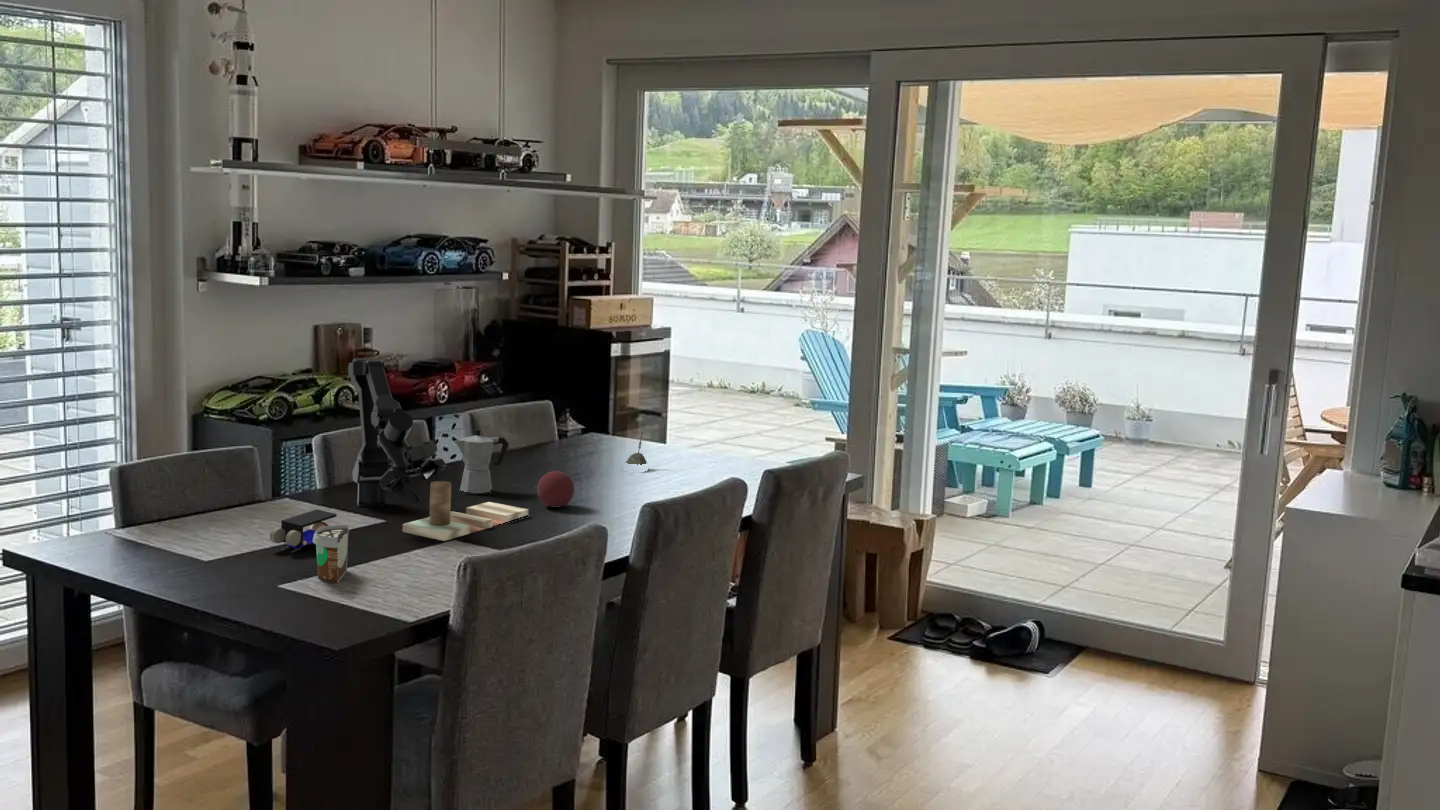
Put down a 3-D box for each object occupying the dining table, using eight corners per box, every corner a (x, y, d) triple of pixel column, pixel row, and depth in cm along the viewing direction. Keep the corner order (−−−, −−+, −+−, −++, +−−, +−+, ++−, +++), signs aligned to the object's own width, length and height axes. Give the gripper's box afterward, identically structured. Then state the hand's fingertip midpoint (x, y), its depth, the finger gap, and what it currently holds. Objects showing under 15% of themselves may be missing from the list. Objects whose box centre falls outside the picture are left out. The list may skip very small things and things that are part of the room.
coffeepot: (456, 496, 354) (457, 432, 351) (449, 488, 362) (451, 426, 360) (510, 494, 360) (513, 431, 357) (502, 487, 368) (505, 426, 366)
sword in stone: (640, 474, 399) (642, 437, 398) (618, 471, 402) (620, 434, 401) (654, 469, 409) (656, 433, 407) (632, 466, 411) (634, 430, 410)
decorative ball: (558, 501, 354) (559, 466, 353) (580, 509, 347) (582, 472, 346) (529, 505, 347) (530, 469, 346) (551, 513, 340) (552, 476, 339)
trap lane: (488, 509, 341) (489, 501, 340) (528, 516, 335) (528, 508, 334) (402, 532, 312) (402, 523, 311) (443, 540, 306) (444, 532, 305)
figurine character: (293, 562, 286) (339, 541, 299) (290, 530, 284) (337, 510, 297) (270, 557, 288) (317, 536, 302) (267, 525, 286) (314, 506, 300)
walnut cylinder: (430, 525, 310) (431, 485, 309) (428, 520, 315) (429, 481, 314) (451, 525, 312) (452, 485, 311) (448, 520, 317) (449, 480, 315)
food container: (319, 568, 277) (320, 523, 276) (348, 569, 278) (349, 524, 276) (305, 584, 265) (306, 537, 264) (336, 585, 266) (337, 538, 264)
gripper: (389, 435, 306) (424, 487, 303) (441, 426, 323) (474, 475, 319) (364, 462, 311) (398, 514, 307) (416, 452, 327) (448, 501, 324)
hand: (431, 500), depth 314 cm, fingers open, 9 cm apart
